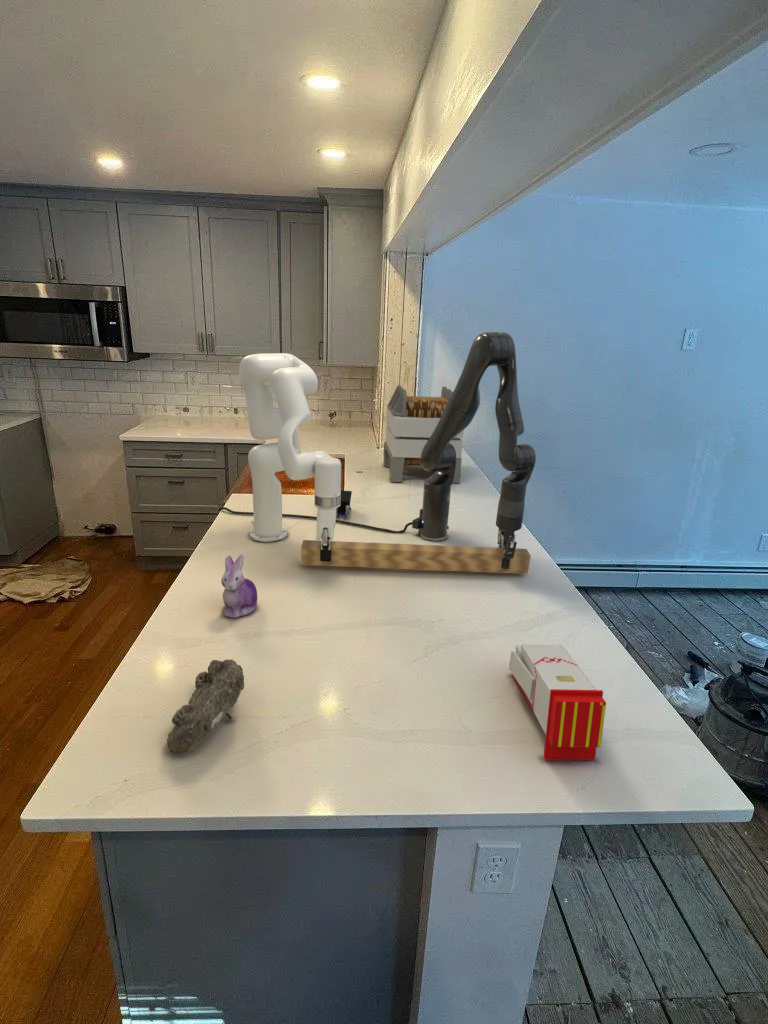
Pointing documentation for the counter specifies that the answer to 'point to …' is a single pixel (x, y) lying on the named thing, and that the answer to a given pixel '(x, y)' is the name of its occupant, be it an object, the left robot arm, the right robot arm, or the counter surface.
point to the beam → (414, 557)
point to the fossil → (206, 705)
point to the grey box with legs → (414, 430)
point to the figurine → (237, 589)
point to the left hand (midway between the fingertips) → (326, 556)
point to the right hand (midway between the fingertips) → (503, 564)
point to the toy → (560, 700)
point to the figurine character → (344, 504)
